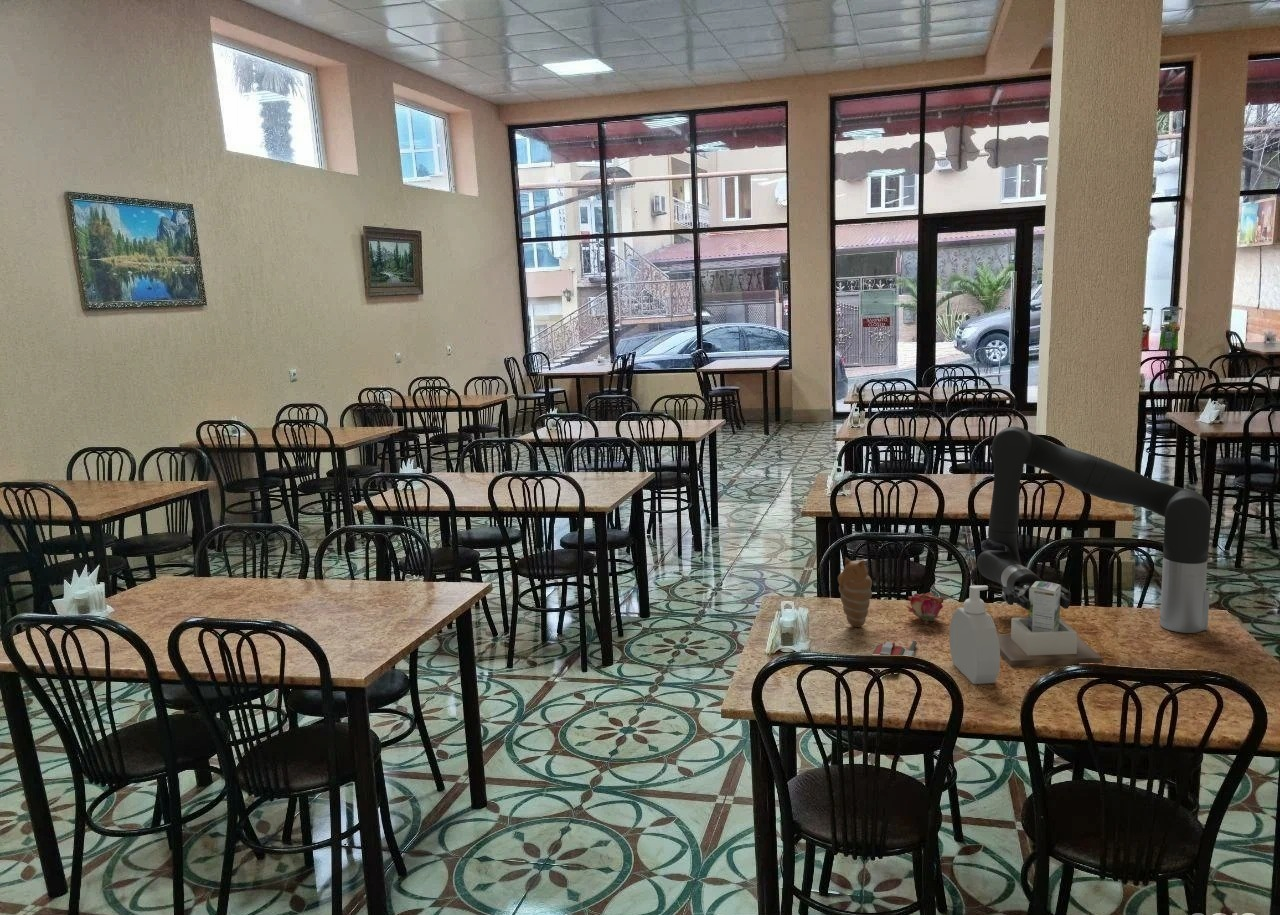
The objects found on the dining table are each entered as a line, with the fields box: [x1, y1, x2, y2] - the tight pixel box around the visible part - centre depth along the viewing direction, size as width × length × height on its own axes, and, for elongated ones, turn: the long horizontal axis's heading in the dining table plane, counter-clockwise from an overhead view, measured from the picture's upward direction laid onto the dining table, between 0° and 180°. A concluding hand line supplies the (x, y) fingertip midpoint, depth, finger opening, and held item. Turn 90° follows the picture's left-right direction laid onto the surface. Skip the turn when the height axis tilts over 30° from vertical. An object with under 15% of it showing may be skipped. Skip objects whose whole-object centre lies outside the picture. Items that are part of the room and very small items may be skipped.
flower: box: [906, 591, 946, 626], centre depth 239 cm, size 10×9×8 cm
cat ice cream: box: [837, 557, 873, 628], centre depth 237 cm, size 9×8×18 cm
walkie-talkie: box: [871, 640, 918, 676], centre depth 216 cm, size 9×4×20 cm
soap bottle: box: [948, 584, 1001, 685], centre depth 205 cm, size 16×5×20 cm, turn 3°
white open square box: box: [1010, 616, 1078, 655], centre depth 216 cm, size 11×11×5 cm
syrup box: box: [1027, 580, 1062, 632], centre depth 215 cm, size 6×6×14 cm
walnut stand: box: [997, 633, 1103, 668], centre depth 216 cm, size 20×16×2 cm
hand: (1047, 605), depth 213 cm, fingers open, 8 cm apart
